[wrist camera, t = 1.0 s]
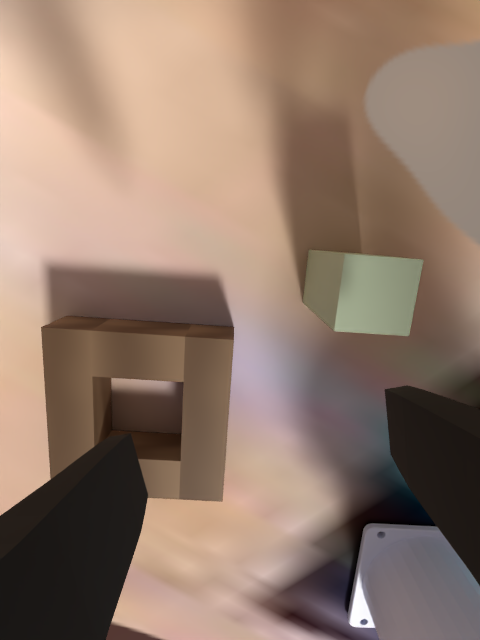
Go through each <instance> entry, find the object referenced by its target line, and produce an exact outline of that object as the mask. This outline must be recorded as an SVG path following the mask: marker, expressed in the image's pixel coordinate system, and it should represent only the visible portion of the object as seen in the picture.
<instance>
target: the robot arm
mask: <svg viewBox="0 0 480 640" xmlns="http://www.w3.org/2000/svg"><path fill="white" fill-rule="evenodd" d="M385 396H386V407H387V419H388V430H389V441H390V452H391V456H392V457H393V459H394V461H395V463H396V465H397V467H398V469H399V471H400V472H401V474H402V476H403V478H404V479H405V481H406V483H407V485H408V487H409V488H410V490H411V491H412V492H413V494H414V495H415V497H416V498H417V499H418V501H419V502H420V504H421V505H422V506H423V508H424V509H425V511H426V512H427V513H428V515H429V516H430V517H431V519H432V520H433V522H434V523H435V524H436V526H437V527H436V526H416V525H396V524H376V523H371V524H367V525H366V526H365V527H364V529H363V534H362V540H361V545H360V551H359V556H358V561H357V567H356V572H355V578H354V583H353V589H352V594H351V600H350V605H349V610H348V621H349V624H350V625H351V626H353V627H366V628H376V631H377V634H378V637H379V640H480V409H477V408H475V407H472V406H469V405H466V404H463V403H460V402H457V401H454V400H451V399H448V398H446V397H443V396H440V395H437V394H434V393H431V392H428V391H425V390H422V389H419V388H415V387H411V386H402V387H396V388H390V389H385ZM147 498H148V492H147V489H146V485H145V482H144V478H143V475H142V471H141V468H140V464H139V460H138V457H137V453H136V450H135V446H134V443H133V439H132V436H131V433H128V434H122V435H116V436H110V437H108V438H107V439H105V440H103V441H102V442H100V443H99V444H97V445H96V446H94V447H93V448H92V449H90V450H89V451H88V452H86V453H85V454H84V455H82V456H81V457H80V458H78V459H77V460H76V461H74V462H73V463H72V464H70V465H69V466H68V467H66V468H65V469H64V470H63V471H61V472H60V473H59V474H57V475H56V476H55V477H53V478H52V479H51V480H49V481H48V482H47V483H45V484H44V485H43V486H41V487H40V488H38V489H37V490H36V491H34V492H33V493H31V494H30V495H29V496H27V497H26V498H25V499H23V500H22V501H20V502H19V503H18V504H16V505H15V506H13V507H12V508H11V509H9V510H8V511H6V512H5V513H4V514H2V515H1V516H0V640H106V637H107V633H108V630H109V627H110V624H111V621H112V618H113V615H114V612H115V609H116V606H117V603H118V600H119V597H120V594H121V591H122V588H123V585H124V582H125V579H126V576H127V573H128V570H129V567H130V564H131V561H132V558H133V555H134V552H135V549H136V546H137V542H138V539H139V536H140V533H141V529H142V524H143V519H144V515H145V509H146V504H147ZM379 532H381V533H379Z"/></svg>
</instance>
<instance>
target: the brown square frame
mask: <svg viewBox="0 0 480 640" xmlns="http://www.w3.org/2000/svg"><path fill="white" fill-rule="evenodd" d="M41 332H42V348H43V364H44V380H45V396H46V412H47V428H48V444H49V460H50V476H51V479H52V478H53V477H55V476H56V475H57V474H59V473H60V472H61V471H63V470H64V469H65V468H66V467H68V466H69V465H70V464H72V463H73V462H74V461H76V460H77V459H78V458H80V457H81V456H82V455H84V454H85V453H86V452H88V451H89V450H90V449H92V448H93V447H94V446H96V445H97V444H99V443H100V442H102V441H103V440H105V439H107V438H108V437H110V436H116V435H122V434H128V433H131V436H132V439H133V443H134V446H135V450H136V453H137V457H138V460H139V464H140V468H141V471H142V475H143V478H144V482H145V485H146V489H147V492H148V498H163V499H183V500H202V501H221V502H222V500H223V486H224V472H225V457H226V443H227V429H228V414H229V400H230V386H231V372H232V357H233V343H234V327H228V326H212V325H197V324H182V323H167V322H152V321H137V320H122V319H107V318H92V317H76V316H66V317H63V318H61V319H59V320H57V321H54V322H52V323H50V324H48V325H45V326H43V327H41ZM111 378H125V379H141V380H157V381H174V382H183V409H182V434H170V433H152V432H135V431H117V430H112V406H111Z"/></svg>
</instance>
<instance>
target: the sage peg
mask: <svg viewBox="0 0 480 640" xmlns="http://www.w3.org/2000/svg"><path fill="white" fill-rule="evenodd" d="M422 265H423V260H422V259H412V258H402V257H392V256H382V255H372V254H362V253H349V252H335V251H321V250H309V251H308V260H307V268H306V277H305V286H304V295H303V303H304V304H305V305H306V306H307V307H308V308H309V309H310V310H311V311H312V312H314V313H315V314H316V315H317V316H318V317H319V318H320V319H321V320H322V321H323V322H324V323H326V324H327V325H328V326H329V327H330V328H331V329H332V330H333V331H337V332H352V333H368V334H383V335H398V336H409V334H410V328H411V323H412V318H413V313H414V307H415V302H416V297H417V292H418V286H419V281H420V276H421V271H422Z"/></svg>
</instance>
